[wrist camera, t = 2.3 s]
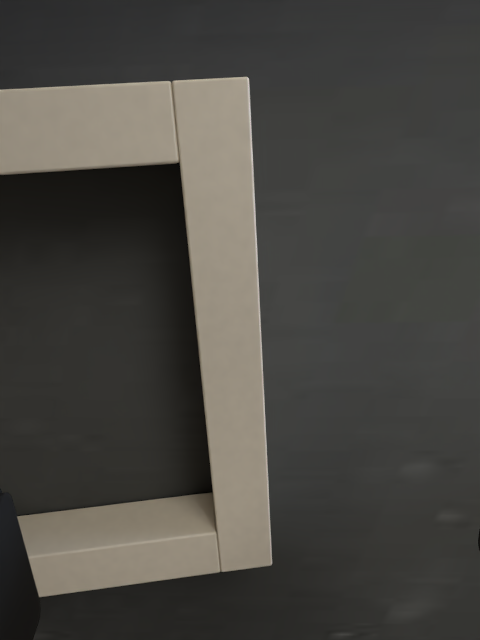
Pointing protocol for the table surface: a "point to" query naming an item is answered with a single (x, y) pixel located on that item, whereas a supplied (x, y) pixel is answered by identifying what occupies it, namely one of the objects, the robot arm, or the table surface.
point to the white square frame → (210, 314)
